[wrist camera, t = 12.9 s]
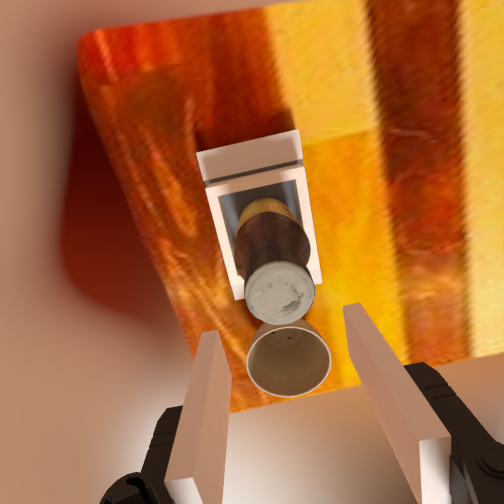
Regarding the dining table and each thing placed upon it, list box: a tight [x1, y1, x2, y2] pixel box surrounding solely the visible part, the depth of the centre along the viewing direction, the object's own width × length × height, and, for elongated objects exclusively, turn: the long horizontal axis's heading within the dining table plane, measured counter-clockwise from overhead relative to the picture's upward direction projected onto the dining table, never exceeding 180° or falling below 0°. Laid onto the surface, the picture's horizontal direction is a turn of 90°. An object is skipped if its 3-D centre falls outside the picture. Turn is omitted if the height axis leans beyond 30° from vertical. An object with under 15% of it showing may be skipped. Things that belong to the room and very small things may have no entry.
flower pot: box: [246, 318, 331, 397], centre depth 39 cm, size 10×10×7 cm
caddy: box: [196, 129, 322, 300], centre depth 35 cm, size 11×18×6 cm, turn 12°
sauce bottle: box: [234, 198, 315, 325], centre depth 27 cm, size 7×6×20 cm
